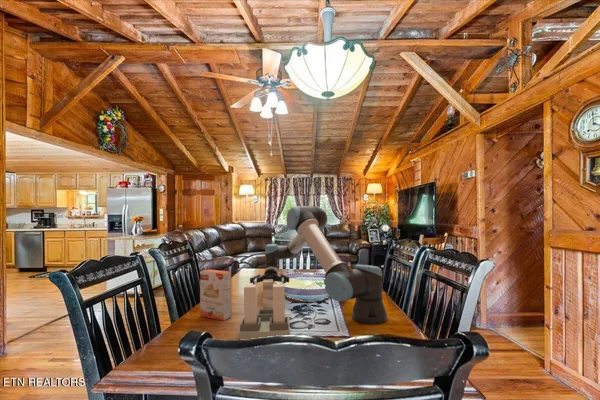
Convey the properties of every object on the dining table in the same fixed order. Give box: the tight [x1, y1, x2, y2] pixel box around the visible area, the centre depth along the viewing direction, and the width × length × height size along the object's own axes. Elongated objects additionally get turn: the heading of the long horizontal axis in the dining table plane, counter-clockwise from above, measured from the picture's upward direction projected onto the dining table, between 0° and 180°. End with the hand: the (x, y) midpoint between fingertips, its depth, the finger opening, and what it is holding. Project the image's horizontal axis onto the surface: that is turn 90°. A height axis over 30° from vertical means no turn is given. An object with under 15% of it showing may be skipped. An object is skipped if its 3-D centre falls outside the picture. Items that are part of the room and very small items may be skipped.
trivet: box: [285, 295, 330, 304], centre depth 176 cm, size 25×25×2 cm
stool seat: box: [238, 283, 291, 340], centre depth 127 cm, size 19×19×19 cm
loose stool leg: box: [262, 279, 274, 309], centre depth 145 cm, size 4×4×16 cm
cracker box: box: [199, 269, 233, 322], centre depth 144 cm, size 14×6×21 cm, turn 62°
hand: (268, 283), depth 155 cm, fingers open, 13 cm apart
